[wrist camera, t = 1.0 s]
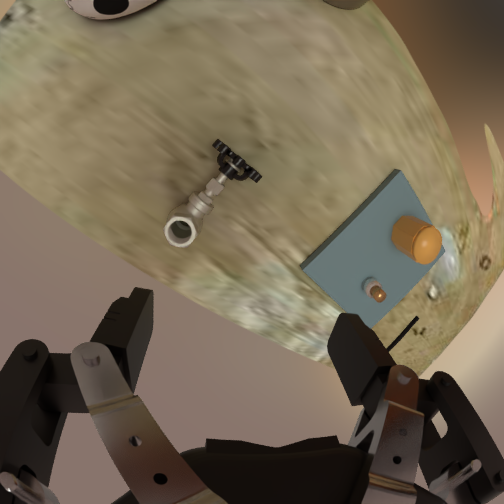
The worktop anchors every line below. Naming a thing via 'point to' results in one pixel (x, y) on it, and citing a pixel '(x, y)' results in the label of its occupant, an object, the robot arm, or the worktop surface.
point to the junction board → (370, 253)
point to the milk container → (107, 7)
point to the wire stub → (373, 289)
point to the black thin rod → (402, 334)
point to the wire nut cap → (416, 239)
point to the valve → (205, 198)
